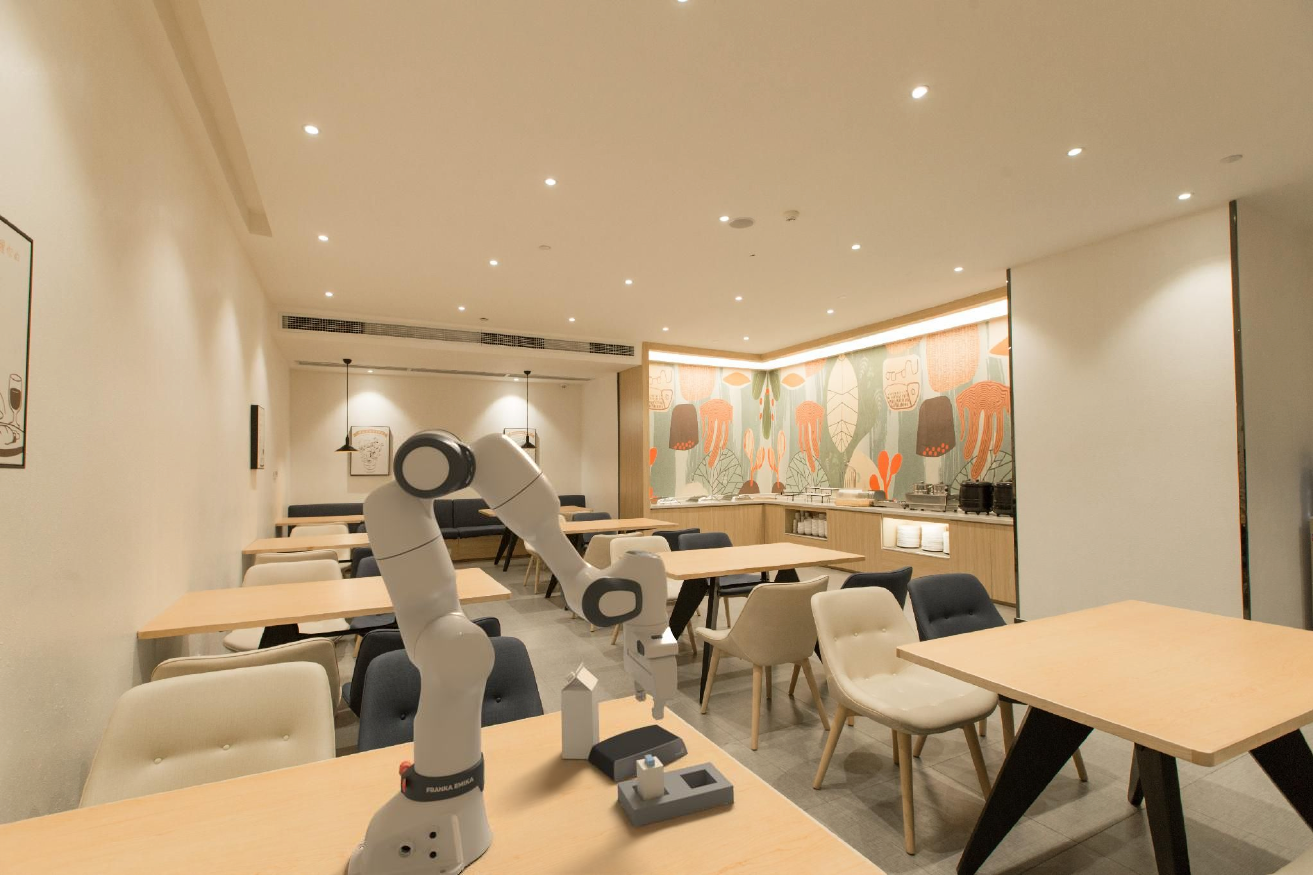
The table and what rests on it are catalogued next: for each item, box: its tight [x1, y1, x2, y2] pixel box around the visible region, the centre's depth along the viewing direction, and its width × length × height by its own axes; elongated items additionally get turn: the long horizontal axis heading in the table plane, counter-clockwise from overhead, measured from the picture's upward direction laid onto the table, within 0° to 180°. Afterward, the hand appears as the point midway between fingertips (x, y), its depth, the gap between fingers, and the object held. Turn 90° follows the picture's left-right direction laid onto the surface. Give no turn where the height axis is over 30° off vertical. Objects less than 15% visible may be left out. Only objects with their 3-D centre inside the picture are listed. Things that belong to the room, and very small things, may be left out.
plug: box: [636, 754, 665, 801], centre depth 111 cm, size 4×4×9 cm
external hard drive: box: [587, 724, 689, 783], centre depth 130 cm, size 13×19×4 cm
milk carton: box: [560, 661, 600, 760], centre depth 134 cm, size 7×7×19 cm
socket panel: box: [617, 761, 735, 828], centre depth 112 cm, size 20×10×3 cm, turn 111°
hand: (649, 708), depth 112 cm, fingers open, 8 cm apart
